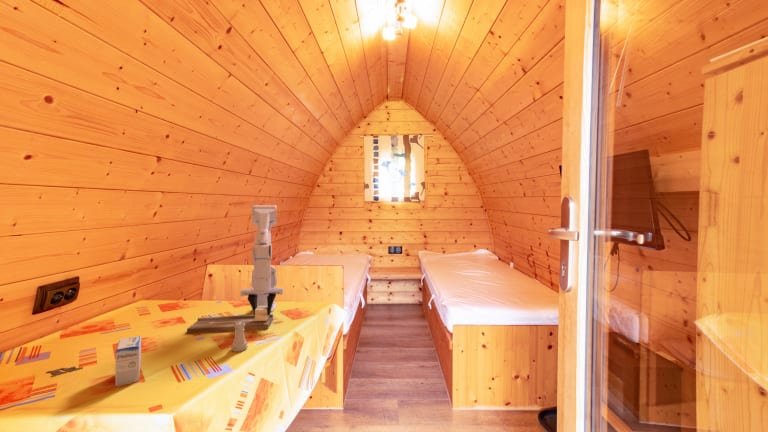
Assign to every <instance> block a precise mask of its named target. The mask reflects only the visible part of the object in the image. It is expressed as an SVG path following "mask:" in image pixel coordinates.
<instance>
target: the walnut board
mask: <svg viewBox="0 0 768 432" xmlns="http://www.w3.org/2000/svg"><path fill="white" fill-rule="evenodd" d="M237 321H238V323H239V322H240V321H244V323H245V324H246V325H245V326H244V329H245V330H244V331H253V330H255V331H256V330H257V331H258V330H269V328H270V326H271V324H272V323H273V321H274V314H273V313H270V315H269V318H268V319H267V321H255V316H254V314H250V315H249V314H247V315H225V316H207V317H206V316H205V317H198V318H197V321H195V322H194V323H193V324H191V325H189V327H187V329H186V334H200V333H202V334H203V333H218V332H235V328H234V325H235V322H236V323H237Z"/></svg>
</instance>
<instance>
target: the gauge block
mask: <svg viewBox="0 0 768 432" xmlns="http://www.w3.org/2000/svg"><path fill="white" fill-rule="evenodd" d="M267 309H268V306H258V307H257V308H256V309H255V321H267V319H268V318H269V315H267Z"/></svg>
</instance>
